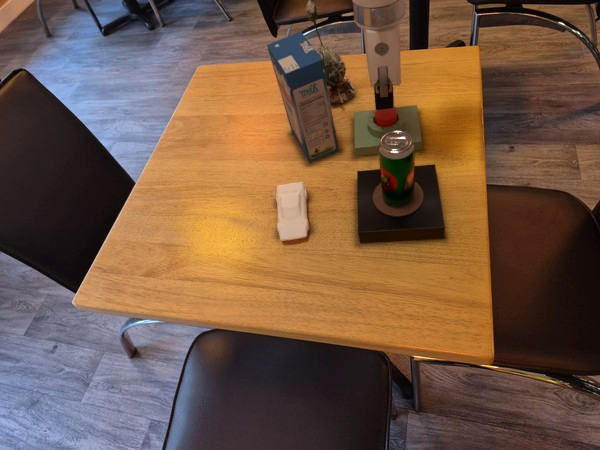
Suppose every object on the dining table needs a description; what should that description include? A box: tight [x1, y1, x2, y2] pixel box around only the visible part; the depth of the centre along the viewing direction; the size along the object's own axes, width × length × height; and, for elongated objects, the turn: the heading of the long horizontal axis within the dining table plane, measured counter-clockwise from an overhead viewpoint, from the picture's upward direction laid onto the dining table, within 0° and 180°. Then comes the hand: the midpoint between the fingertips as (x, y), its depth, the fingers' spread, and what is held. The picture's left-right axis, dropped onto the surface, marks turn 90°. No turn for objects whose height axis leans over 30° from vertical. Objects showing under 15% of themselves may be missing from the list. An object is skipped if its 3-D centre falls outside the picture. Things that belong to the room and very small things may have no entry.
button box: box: [353, 104, 423, 157], centre depth 82 cm, size 12×10×4 cm
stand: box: [356, 163, 446, 244], centre depth 72 cm, size 13×13×3 cm
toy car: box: [275, 181, 310, 242], centre depth 75 cm, size 6×12×3 cm, turn 3°
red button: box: [375, 106, 397, 127], centre depth 80 cm, size 4×4×2 cm
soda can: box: [378, 131, 416, 206], centre depth 66 cm, size 5×5×12 cm
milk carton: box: [266, 31, 340, 164], centre depth 79 cm, size 10×6×20 cm, turn 20°
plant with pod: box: [305, 0, 356, 105], centre depth 86 cm, size 8×11×20 cm
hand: (384, 106), depth 79 cm, fingers closed
